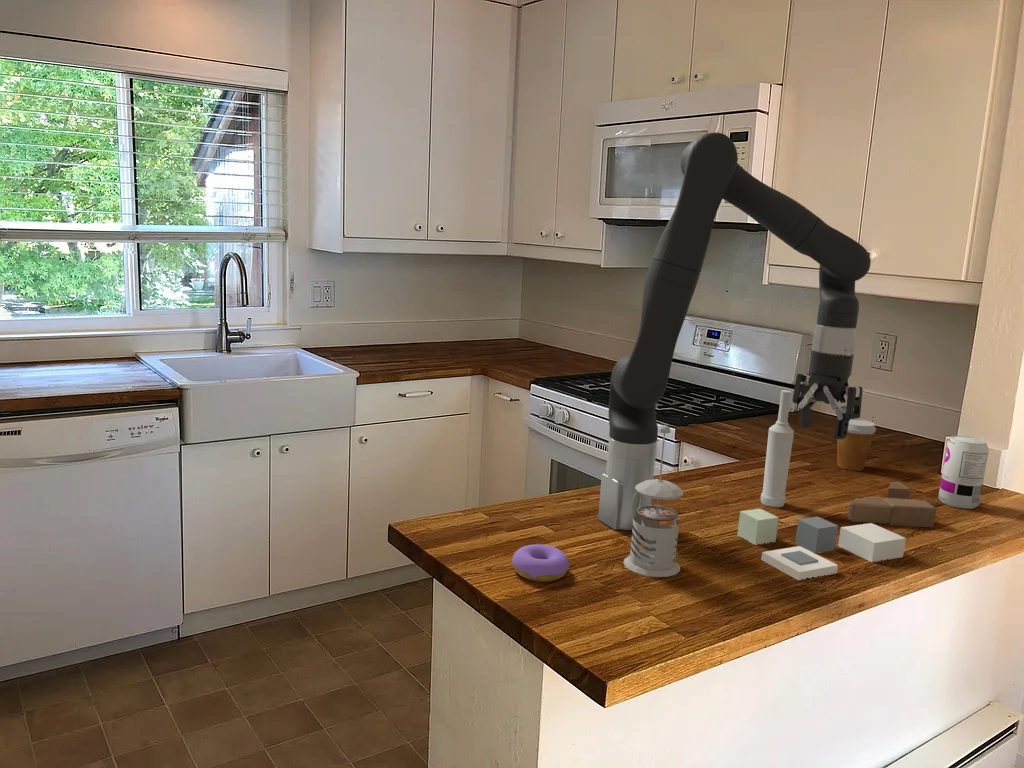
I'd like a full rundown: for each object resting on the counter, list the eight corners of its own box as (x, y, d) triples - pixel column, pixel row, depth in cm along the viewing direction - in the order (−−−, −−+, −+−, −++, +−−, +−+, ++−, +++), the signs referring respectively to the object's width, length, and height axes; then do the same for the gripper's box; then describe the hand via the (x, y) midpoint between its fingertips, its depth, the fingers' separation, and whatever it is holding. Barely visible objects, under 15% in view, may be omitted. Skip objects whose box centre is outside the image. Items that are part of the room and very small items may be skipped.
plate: (798, 580, 141) (799, 570, 140) (761, 559, 149) (762, 550, 148) (836, 573, 145) (838, 563, 144) (798, 553, 153) (799, 544, 152)
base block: (871, 563, 151) (874, 542, 150) (837, 547, 158) (840, 527, 157) (902, 558, 154) (906, 538, 153) (868, 542, 161) (871, 523, 160)
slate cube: (814, 554, 153) (818, 528, 152) (795, 544, 157) (798, 519, 156) (834, 550, 155) (838, 525, 154) (814, 541, 160) (817, 516, 159)
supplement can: (933, 502, 187) (943, 438, 184) (944, 495, 193) (954, 432, 190) (972, 512, 182) (984, 446, 179) (982, 504, 188) (994, 440, 185)
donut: (577, 582, 135) (573, 555, 134) (522, 595, 133) (518, 568, 132) (561, 557, 144) (557, 531, 143) (509, 569, 143) (505, 543, 142)
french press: (643, 580, 137) (656, 434, 133) (607, 553, 148) (619, 417, 143) (692, 573, 141) (707, 431, 136) (654, 547, 152) (667, 414, 147)
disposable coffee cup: (871, 475, 206) (878, 428, 204) (831, 469, 209) (837, 423, 207) (868, 465, 215) (875, 420, 213) (829, 459, 218) (835, 415, 215)
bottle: (786, 508, 177) (800, 394, 172) (761, 506, 178) (774, 392, 173) (783, 501, 182) (797, 390, 177) (759, 498, 183) (772, 387, 178)
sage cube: (755, 545, 156) (758, 520, 155) (737, 535, 160) (740, 511, 159) (775, 542, 158) (778, 517, 157) (757, 532, 162) (760, 508, 161)
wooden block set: (942, 503, 170) (855, 499, 170) (938, 529, 171) (851, 525, 171) (904, 477, 187) (824, 473, 186) (900, 501, 188) (821, 497, 188)
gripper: (790, 344, 160) (779, 425, 164) (849, 356, 148) (837, 444, 151) (817, 343, 164) (807, 422, 167) (878, 355, 152) (865, 441, 155)
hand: (821, 432), depth 159 cm, fingers open, 8 cm apart
